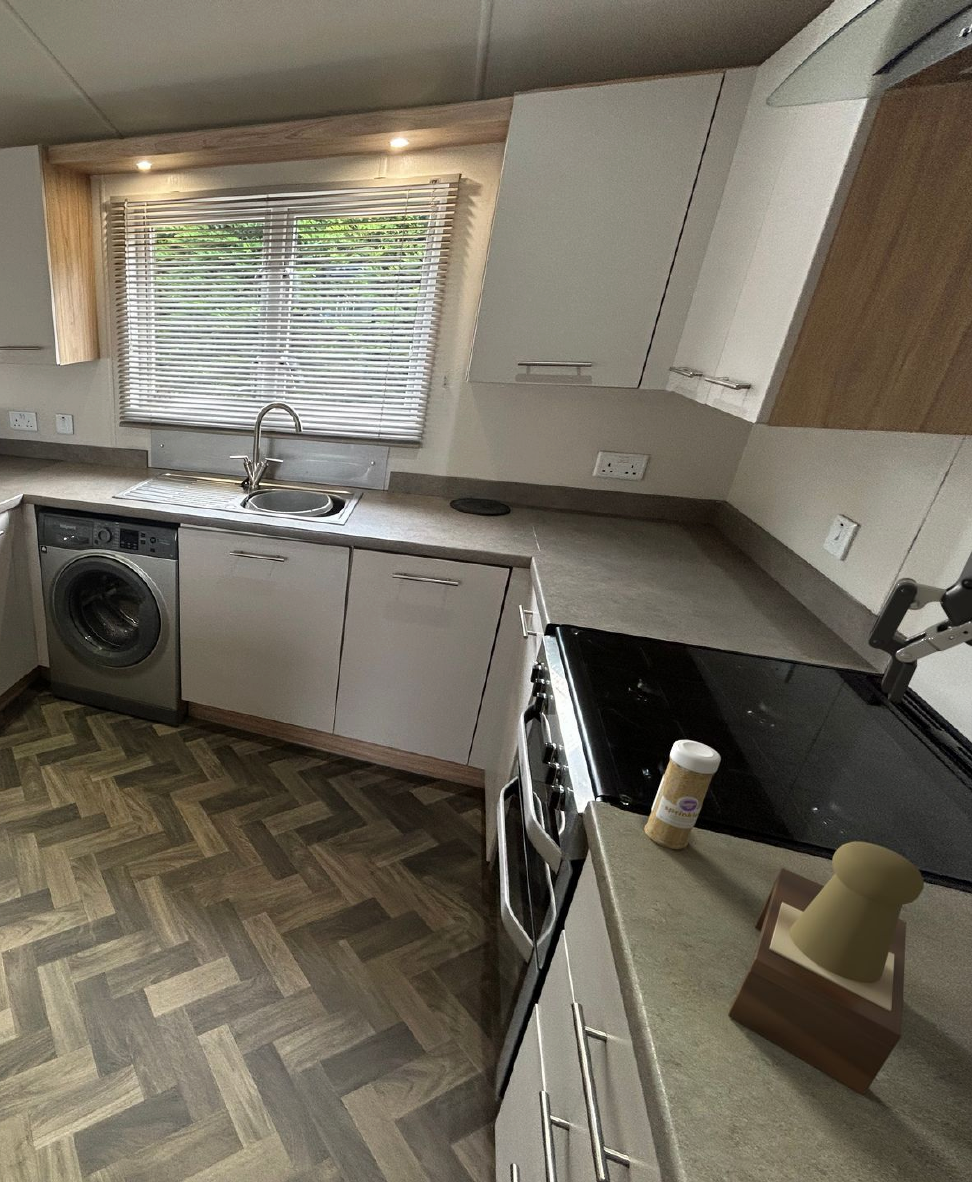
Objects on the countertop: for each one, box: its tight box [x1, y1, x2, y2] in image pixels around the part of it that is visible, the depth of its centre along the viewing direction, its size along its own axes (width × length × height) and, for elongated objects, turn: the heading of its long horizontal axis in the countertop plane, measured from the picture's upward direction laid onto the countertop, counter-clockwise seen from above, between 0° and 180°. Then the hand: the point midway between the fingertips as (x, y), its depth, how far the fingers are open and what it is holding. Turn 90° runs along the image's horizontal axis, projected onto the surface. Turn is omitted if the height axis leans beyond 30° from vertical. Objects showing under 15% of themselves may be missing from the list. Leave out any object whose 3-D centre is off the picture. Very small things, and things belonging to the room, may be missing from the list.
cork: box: [789, 840, 925, 983], centre depth 55 cm, size 6×6×11 cm
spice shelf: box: [727, 867, 907, 1096], centre depth 59 cm, size 16×9×8 cm, turn 132°
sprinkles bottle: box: [644, 739, 722, 850], centre depth 78 cm, size 5×5×13 cm
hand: (968, 717), depth 52 cm, fingers open, 8 cm apart
